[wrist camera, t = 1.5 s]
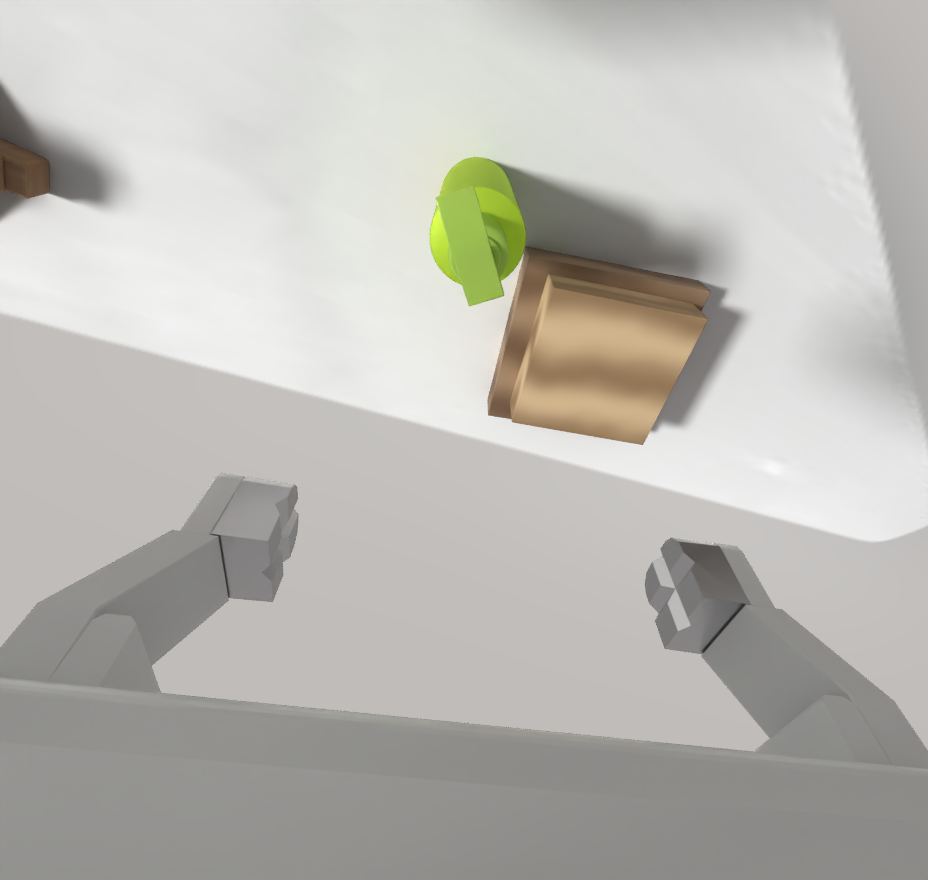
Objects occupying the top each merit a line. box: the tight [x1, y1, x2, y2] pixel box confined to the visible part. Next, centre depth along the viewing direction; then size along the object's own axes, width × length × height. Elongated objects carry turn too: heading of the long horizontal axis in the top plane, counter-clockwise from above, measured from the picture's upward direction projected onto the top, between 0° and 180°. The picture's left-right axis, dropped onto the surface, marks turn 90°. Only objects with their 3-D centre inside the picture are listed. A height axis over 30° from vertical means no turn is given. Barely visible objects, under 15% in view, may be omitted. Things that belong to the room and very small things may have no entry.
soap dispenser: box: [430, 157, 526, 306], centre depth 32 cm, size 6×7×20 cm
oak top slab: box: [510, 273, 708, 445], centre depth 44 cm, size 13×13×4 cm
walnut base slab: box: [488, 247, 711, 419], centre depth 47 cm, size 16×16×4 cm
